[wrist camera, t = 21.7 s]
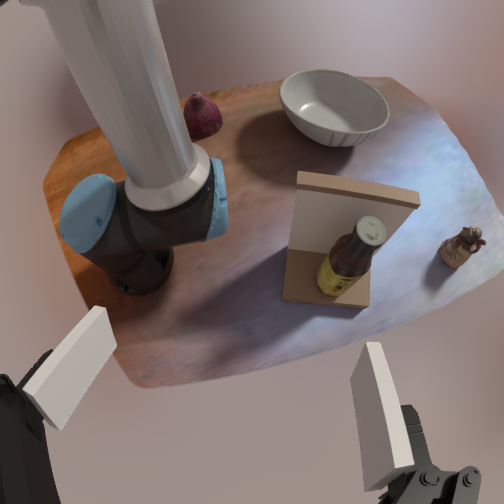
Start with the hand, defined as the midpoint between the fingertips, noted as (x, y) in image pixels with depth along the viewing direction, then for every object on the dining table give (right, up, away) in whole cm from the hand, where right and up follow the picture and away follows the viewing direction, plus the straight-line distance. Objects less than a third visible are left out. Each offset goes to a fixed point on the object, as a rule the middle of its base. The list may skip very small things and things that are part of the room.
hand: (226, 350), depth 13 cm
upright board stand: (+15, 0, +39) cm, 42 cm away
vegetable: (-12, +39, +56) cm, 69 cm away
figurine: (+47, +4, +39) cm, 61 cm away
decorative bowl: (+21, +37, +53) cm, 68 cm away
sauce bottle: (+16, -1, +35) cm, 39 cm away
